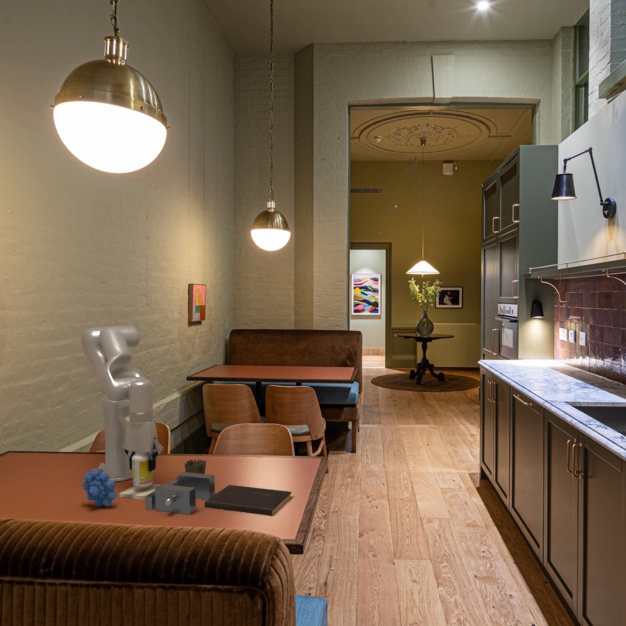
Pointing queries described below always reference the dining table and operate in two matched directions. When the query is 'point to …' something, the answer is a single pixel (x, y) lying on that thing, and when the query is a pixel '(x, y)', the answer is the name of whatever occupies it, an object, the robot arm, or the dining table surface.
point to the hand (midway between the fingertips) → (142, 469)
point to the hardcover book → (248, 500)
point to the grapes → (99, 488)
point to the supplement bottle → (141, 470)
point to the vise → (181, 493)
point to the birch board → (138, 492)
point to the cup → (195, 466)
